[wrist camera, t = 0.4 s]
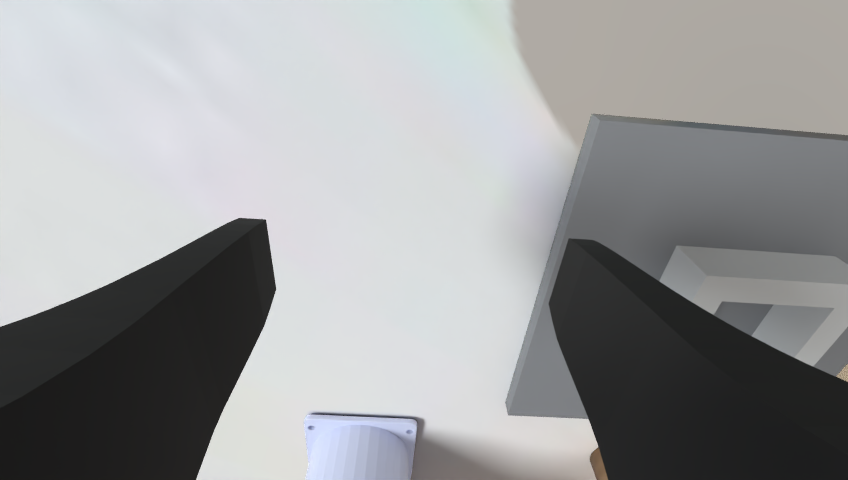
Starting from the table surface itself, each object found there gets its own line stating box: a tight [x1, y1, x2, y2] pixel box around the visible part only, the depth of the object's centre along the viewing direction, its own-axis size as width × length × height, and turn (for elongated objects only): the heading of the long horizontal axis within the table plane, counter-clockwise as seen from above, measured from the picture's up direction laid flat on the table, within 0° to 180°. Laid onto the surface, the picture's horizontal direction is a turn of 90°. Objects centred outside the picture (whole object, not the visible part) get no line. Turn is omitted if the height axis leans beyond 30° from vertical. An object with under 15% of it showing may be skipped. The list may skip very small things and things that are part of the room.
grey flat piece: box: [505, 114, 848, 419], centre depth 22 cm, size 20×20×4 cm
